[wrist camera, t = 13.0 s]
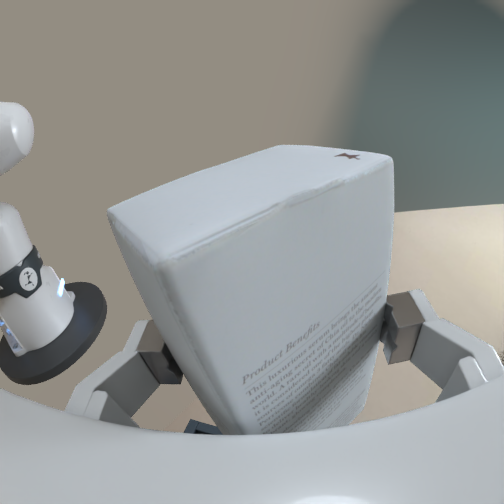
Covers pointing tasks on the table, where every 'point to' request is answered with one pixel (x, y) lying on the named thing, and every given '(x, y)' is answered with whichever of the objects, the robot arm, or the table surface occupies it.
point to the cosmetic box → (268, 282)
